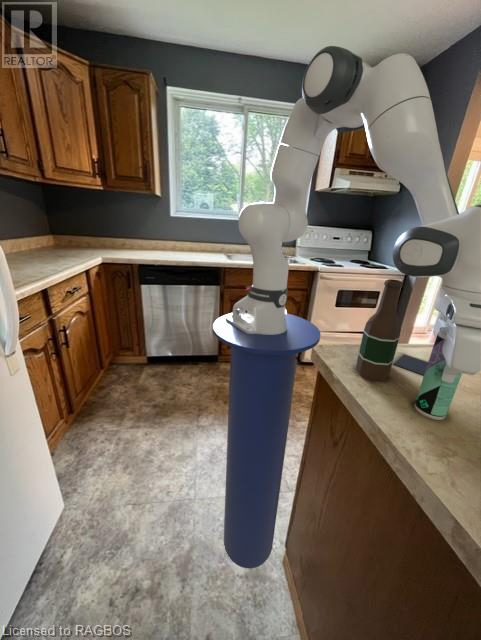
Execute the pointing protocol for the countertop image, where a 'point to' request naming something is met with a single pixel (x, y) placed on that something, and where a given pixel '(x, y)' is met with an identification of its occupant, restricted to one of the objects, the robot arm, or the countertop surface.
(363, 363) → the beer bottle
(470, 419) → the countertop surface
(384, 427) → the countertop surface
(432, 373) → the spray can
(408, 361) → the mat
